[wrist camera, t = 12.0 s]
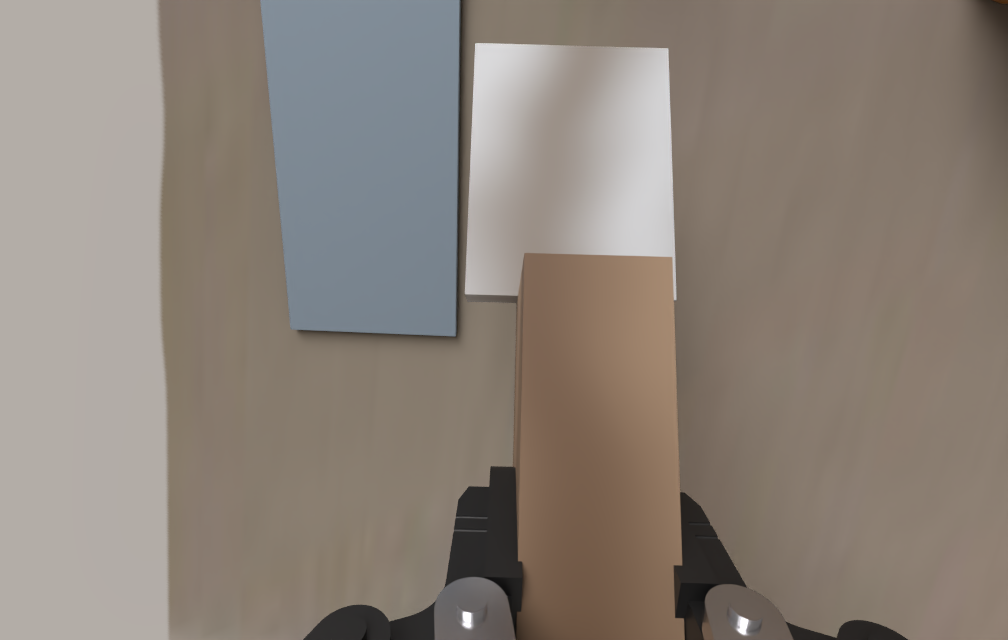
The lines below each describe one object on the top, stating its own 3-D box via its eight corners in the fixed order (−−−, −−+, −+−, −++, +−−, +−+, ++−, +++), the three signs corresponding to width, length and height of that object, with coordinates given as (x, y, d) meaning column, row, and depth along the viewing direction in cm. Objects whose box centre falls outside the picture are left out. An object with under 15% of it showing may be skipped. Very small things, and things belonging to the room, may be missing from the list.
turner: (657, 70, 16) (726, -77, 11) (676, 712, 13) (783, 902, 8) (476, 64, 16) (466, -84, 11) (450, 706, 13) (420, 893, 8)
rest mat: (462, -158, 21) (461, -167, 20) (456, 332, 27) (455, 336, 27) (251, -167, 21) (244, -176, 20) (295, 325, 27) (290, 329, 27)
